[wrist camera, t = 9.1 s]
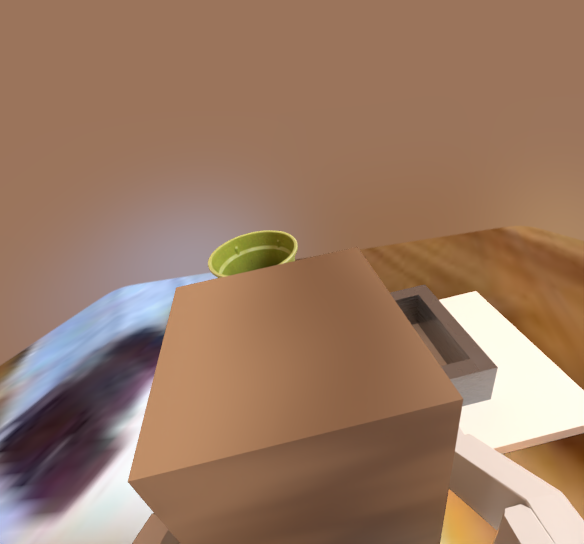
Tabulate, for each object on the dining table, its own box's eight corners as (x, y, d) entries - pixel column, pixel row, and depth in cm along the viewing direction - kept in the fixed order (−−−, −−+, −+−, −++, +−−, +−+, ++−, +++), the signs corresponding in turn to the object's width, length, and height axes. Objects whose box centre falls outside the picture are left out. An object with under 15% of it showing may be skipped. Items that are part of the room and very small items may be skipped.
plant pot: (225, 350, 36) (199, 284, 31) (235, 297, 44) (215, 238, 39) (312, 337, 35) (299, 267, 31) (306, 285, 43) (295, 224, 39)
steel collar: (355, 433, 25) (351, 404, 23) (322, 337, 34) (318, 310, 32) (490, 399, 25) (497, 367, 23) (423, 312, 34) (424, 284, 32)
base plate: (367, 488, 23) (366, 481, 22) (318, 336, 35) (316, 329, 35) (608, 426, 23) (612, 417, 23) (474, 298, 36) (475, 291, 35)
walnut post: (281, 663, 11) (127, 481, 5) (268, 500, 15) (176, 287, 9) (426, 623, 11) (463, 399, 5) (373, 473, 16) (357, 246, 9)
